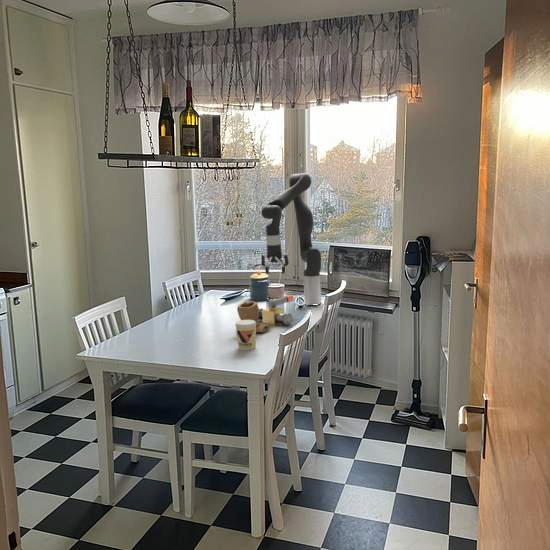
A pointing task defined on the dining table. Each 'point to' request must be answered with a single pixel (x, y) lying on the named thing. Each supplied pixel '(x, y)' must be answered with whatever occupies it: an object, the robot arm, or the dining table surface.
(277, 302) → the lever
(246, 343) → the coffee cup
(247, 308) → the stone cup
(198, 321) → the dining table surface
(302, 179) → the robot arm
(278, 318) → the valve pipe
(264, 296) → the canister
